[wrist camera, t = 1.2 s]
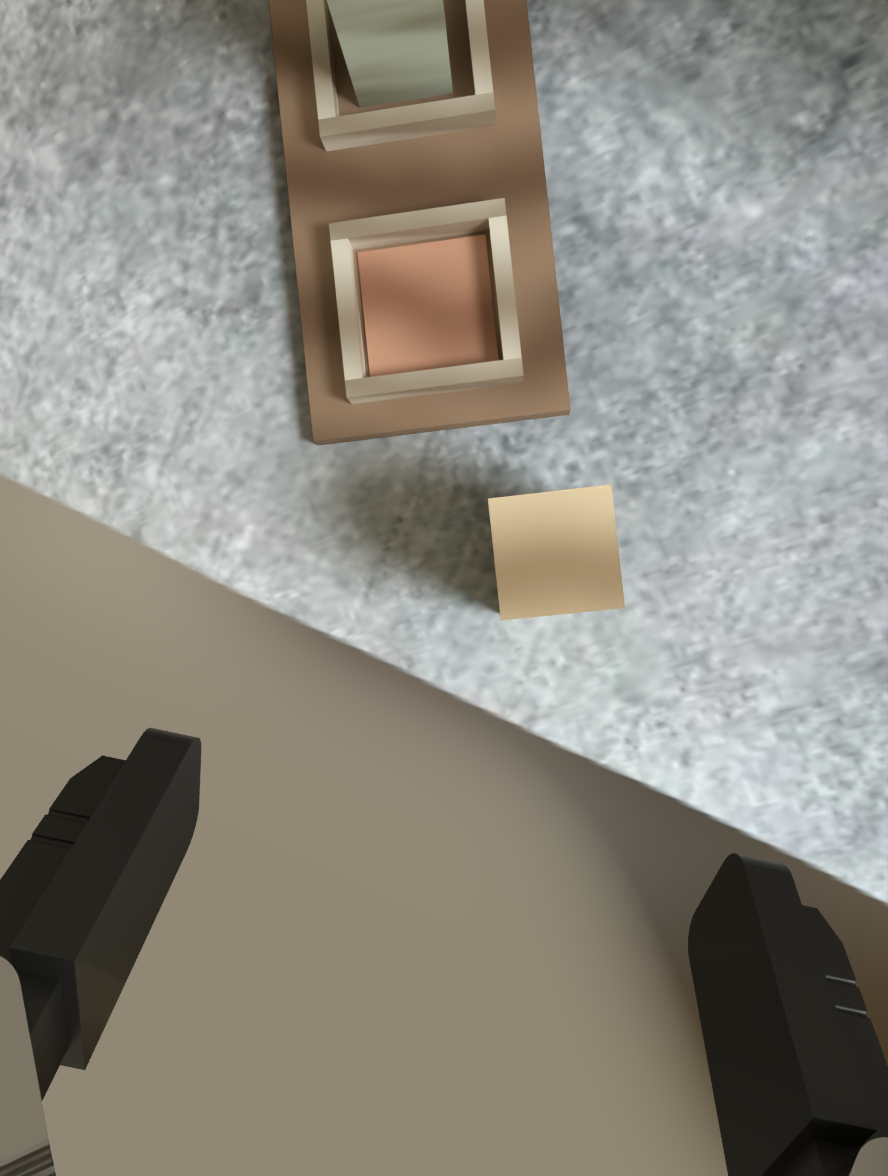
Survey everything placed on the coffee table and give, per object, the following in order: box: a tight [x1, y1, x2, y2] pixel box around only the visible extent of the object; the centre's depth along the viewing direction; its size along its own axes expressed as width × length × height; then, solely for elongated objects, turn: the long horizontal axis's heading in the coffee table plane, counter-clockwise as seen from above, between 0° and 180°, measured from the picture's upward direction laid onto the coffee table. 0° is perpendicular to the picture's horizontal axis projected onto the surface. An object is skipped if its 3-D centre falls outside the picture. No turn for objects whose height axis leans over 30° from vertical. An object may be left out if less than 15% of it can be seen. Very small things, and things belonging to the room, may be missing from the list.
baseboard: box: [269, 0, 570, 445], centre depth 33 cm, size 23×12×10 cm, turn 6°
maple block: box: [488, 485, 625, 620], centre depth 33 cm, size 4×4×9 cm
